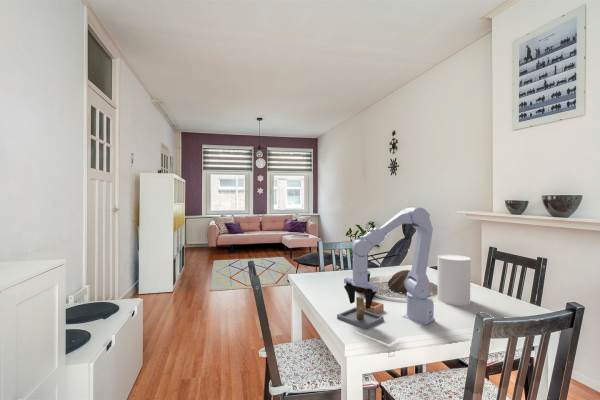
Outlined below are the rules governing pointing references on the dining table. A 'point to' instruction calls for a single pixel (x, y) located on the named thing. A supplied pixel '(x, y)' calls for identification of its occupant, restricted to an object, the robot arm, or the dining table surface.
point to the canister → (453, 279)
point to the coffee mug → (360, 289)
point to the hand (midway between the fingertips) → (360, 305)
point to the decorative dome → (398, 281)
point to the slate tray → (366, 323)
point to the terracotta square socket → (374, 307)
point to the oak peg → (360, 308)
